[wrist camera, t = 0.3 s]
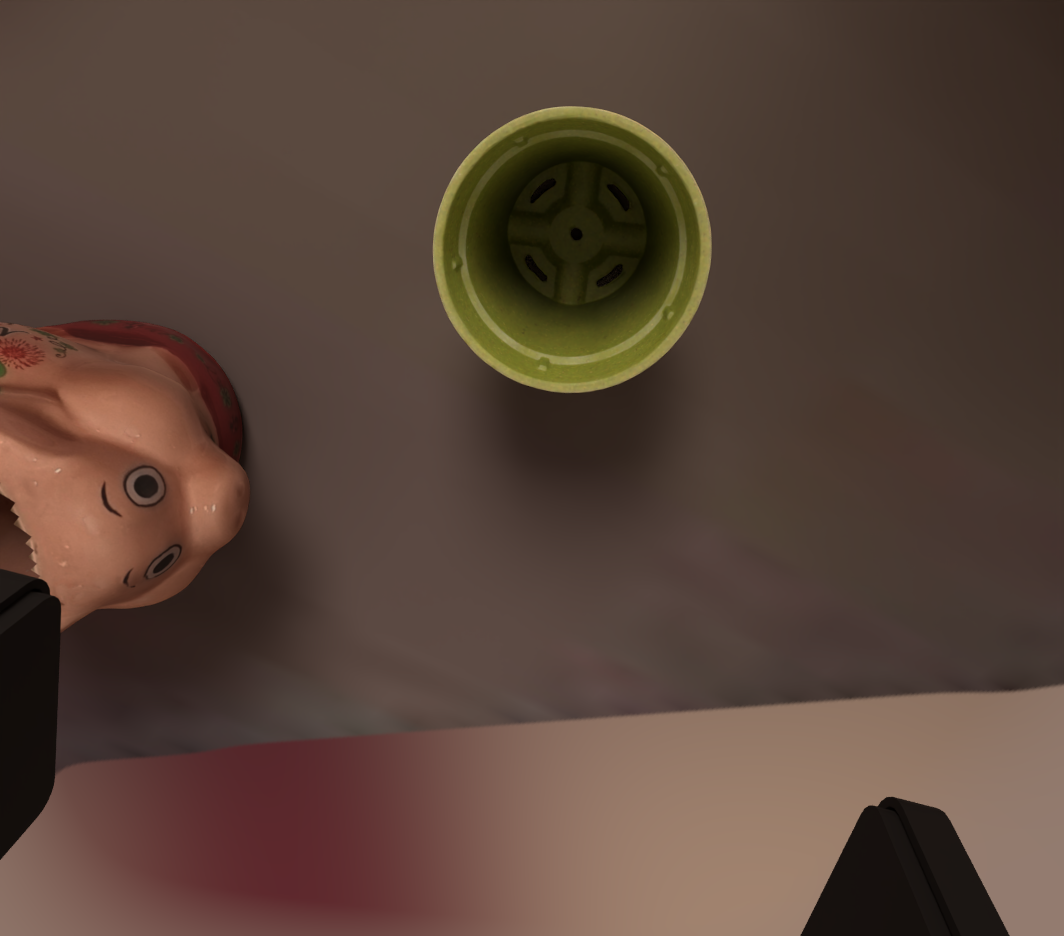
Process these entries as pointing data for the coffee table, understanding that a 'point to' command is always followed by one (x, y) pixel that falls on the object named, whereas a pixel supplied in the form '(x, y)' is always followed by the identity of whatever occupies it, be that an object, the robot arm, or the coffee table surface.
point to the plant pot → (571, 249)
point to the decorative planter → (115, 461)
